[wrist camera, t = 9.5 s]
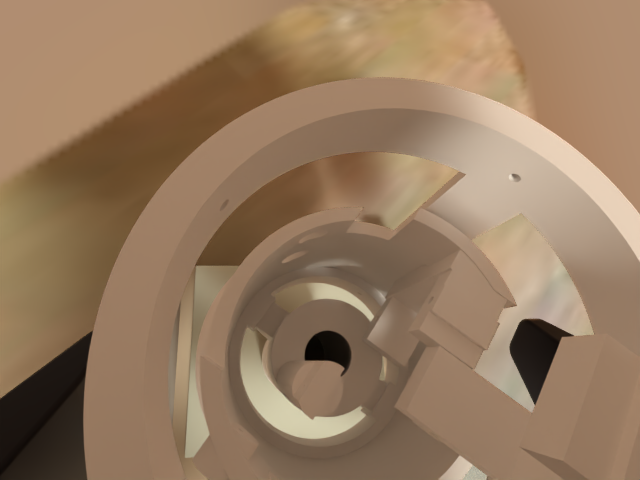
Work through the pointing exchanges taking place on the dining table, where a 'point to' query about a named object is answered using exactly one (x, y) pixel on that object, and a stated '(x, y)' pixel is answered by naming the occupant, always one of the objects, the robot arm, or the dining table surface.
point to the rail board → (243, 366)
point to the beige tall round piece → (374, 304)
